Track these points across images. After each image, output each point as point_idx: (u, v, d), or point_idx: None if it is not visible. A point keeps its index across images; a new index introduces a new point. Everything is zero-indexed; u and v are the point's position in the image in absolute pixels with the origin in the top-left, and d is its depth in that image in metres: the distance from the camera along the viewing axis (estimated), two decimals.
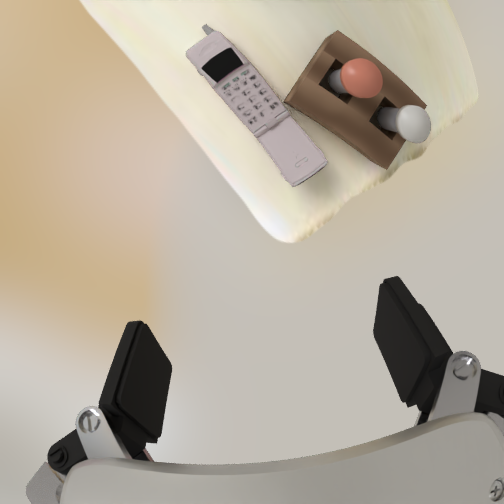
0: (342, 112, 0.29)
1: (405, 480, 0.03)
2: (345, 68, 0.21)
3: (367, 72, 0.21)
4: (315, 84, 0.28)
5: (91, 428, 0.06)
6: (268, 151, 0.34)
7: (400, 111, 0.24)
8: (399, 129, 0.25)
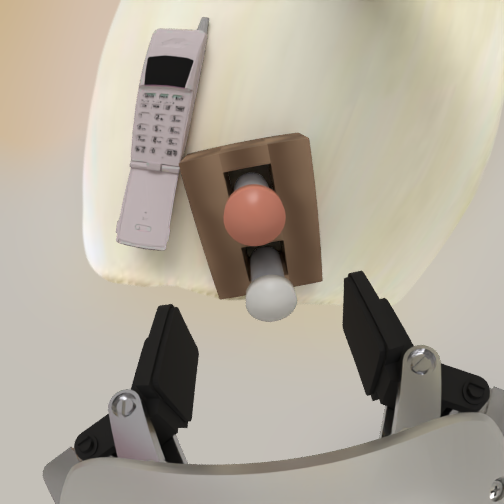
0: (220, 218, 0.27)
1: (405, 480, 0.03)
2: (243, 192, 0.18)
3: (265, 216, 0.19)
4: (220, 170, 0.24)
5: (124, 412, 0.06)
6: (127, 190, 0.27)
7: (267, 277, 0.23)
8: (247, 292, 0.23)
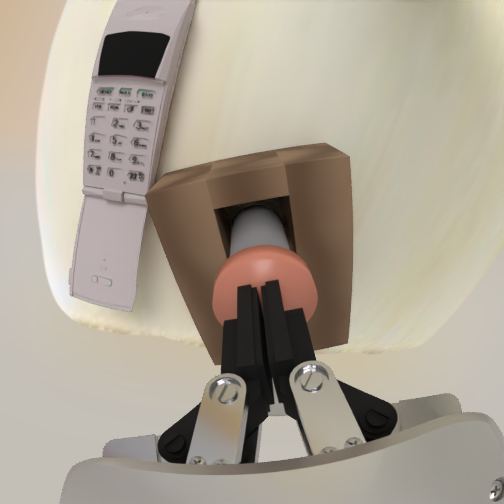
0: (211, 274, 0.18)
1: (405, 480, 0.03)
2: (245, 265, 0.10)
3: (284, 302, 0.11)
4: (208, 205, 0.16)
5: (221, 398, 0.07)
6: (80, 226, 0.18)
7: None
8: None
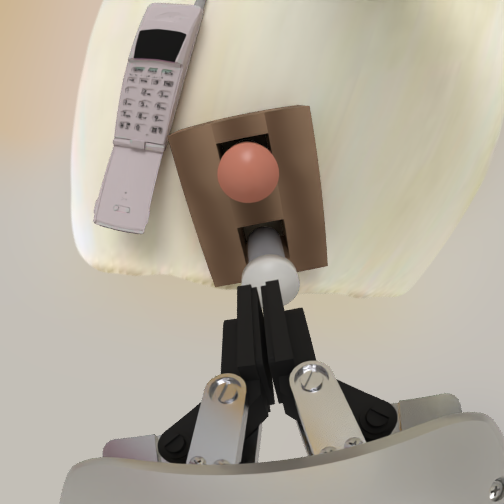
0: (213, 194, 0.24)
1: (405, 480, 0.03)
2: (236, 147, 0.18)
3: (259, 172, 0.19)
4: (212, 141, 0.21)
5: (222, 398, 0.07)
6: (108, 168, 0.24)
7: (265, 257, 0.20)
8: (243, 275, 0.21)
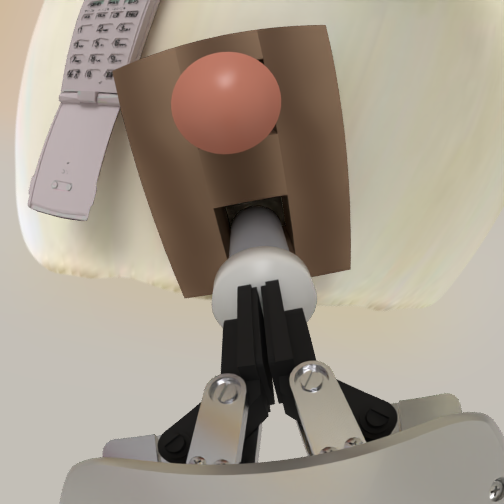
0: (176, 154, 0.14)
1: (405, 480, 0.03)
2: (205, 57, 0.09)
3: (245, 98, 0.10)
4: (176, 72, 0.12)
5: (222, 398, 0.07)
6: (50, 132, 0.14)
7: (256, 252, 0.11)
8: (215, 283, 0.11)
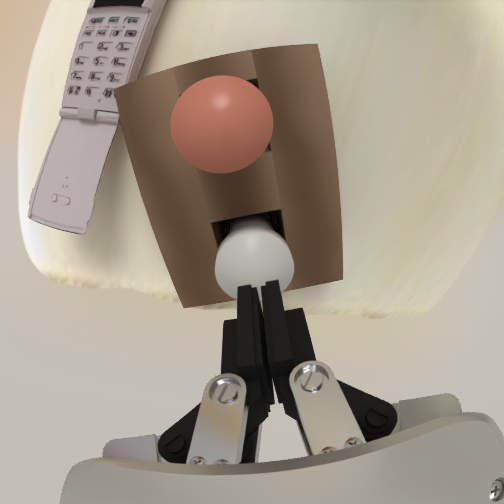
0: (175, 171, 0.15)
1: (405, 480, 0.03)
2: (201, 81, 0.10)
3: (239, 120, 0.11)
4: (174, 91, 0.13)
5: (222, 398, 0.07)
6: (50, 146, 0.15)
7: (247, 229, 0.15)
8: (217, 254, 0.15)
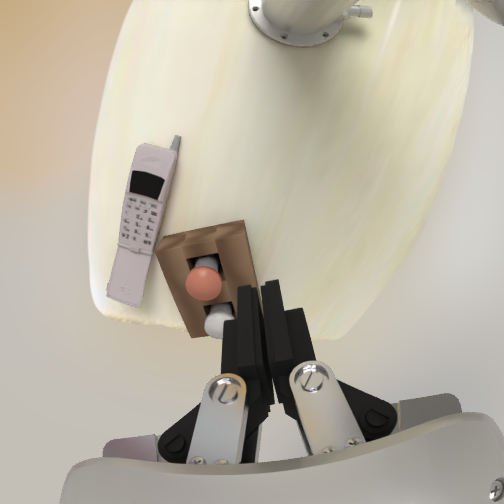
0: None
1: (405, 480, 0.03)
2: (195, 272, 0.32)
3: (209, 285, 0.33)
4: (183, 257, 0.35)
5: (222, 398, 0.07)
6: (115, 261, 0.37)
7: (216, 313, 0.37)
8: (205, 321, 0.38)
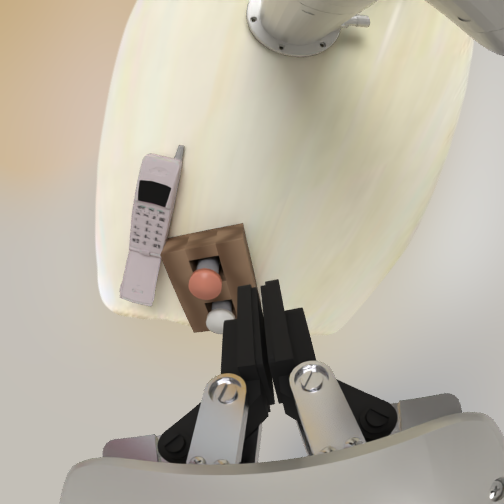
0: None
1: (405, 480, 0.03)
2: (197, 274, 0.35)
3: (210, 286, 0.36)
4: (186, 259, 0.38)
5: (221, 398, 0.07)
6: (127, 265, 0.41)
7: (217, 310, 0.40)
8: (207, 317, 0.41)
